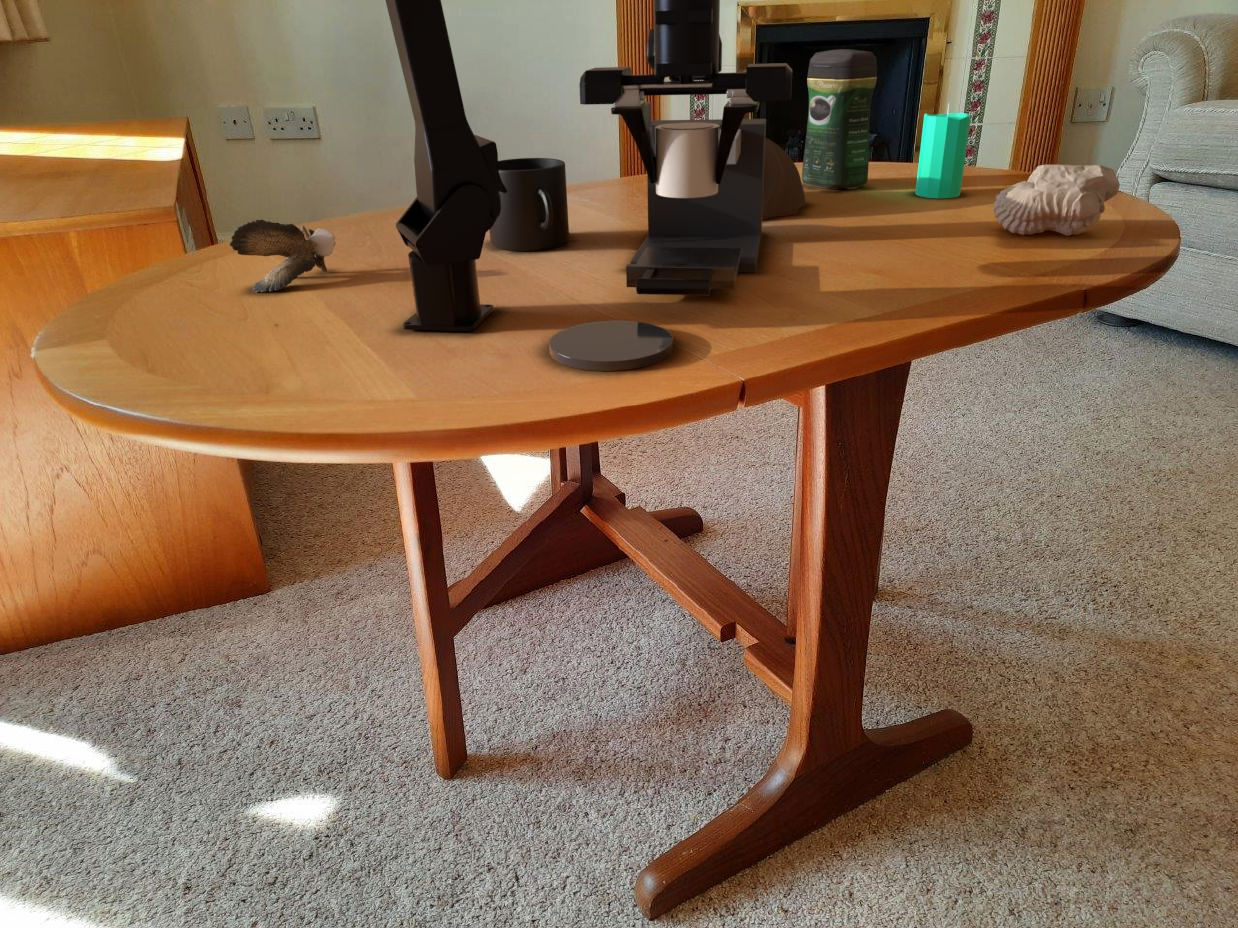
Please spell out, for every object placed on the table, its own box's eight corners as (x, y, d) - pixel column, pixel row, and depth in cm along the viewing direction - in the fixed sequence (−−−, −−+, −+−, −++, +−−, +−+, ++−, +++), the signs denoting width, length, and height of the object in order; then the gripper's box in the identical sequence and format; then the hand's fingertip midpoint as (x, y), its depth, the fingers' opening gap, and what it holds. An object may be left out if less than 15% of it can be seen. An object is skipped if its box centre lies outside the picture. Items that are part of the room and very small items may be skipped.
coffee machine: (755, 272, 91) (760, 139, 85) (630, 270, 93) (627, 140, 88) (761, 234, 106) (766, 118, 101) (654, 233, 109) (652, 120, 103)
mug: (514, 261, 99) (506, 176, 95) (480, 240, 108) (472, 162, 104) (591, 249, 102) (587, 168, 98) (551, 230, 112) (546, 155, 108)
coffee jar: (876, 187, 131) (889, 48, 123) (835, 193, 128) (846, 51, 119) (832, 178, 139) (841, 47, 130) (792, 184, 135) (799, 50, 127)
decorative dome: (820, 196, 126) (825, 121, 121) (782, 226, 110) (786, 141, 105) (692, 190, 133) (692, 119, 129) (639, 217, 117) (637, 137, 113)
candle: (915, 197, 123) (925, 105, 117) (915, 190, 128) (925, 100, 123) (960, 198, 121) (974, 104, 116) (959, 191, 126) (972, 100, 121)
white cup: (715, 198, 82) (717, 129, 79) (651, 198, 83) (650, 130, 80) (720, 187, 87) (722, 121, 85) (660, 186, 88) (659, 122, 86)
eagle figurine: (291, 255, 99) (219, 258, 92) (313, 203, 96) (239, 201, 88) (332, 300, 98) (261, 307, 90) (355, 248, 94) (283, 251, 86)
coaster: (664, 373, 67) (664, 363, 66) (535, 369, 69) (535, 359, 68) (679, 330, 76) (679, 321, 75) (565, 327, 77) (565, 318, 77)
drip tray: (729, 306, 77) (730, 282, 76) (616, 303, 78) (615, 280, 78) (741, 255, 92) (742, 234, 91) (646, 254, 94) (646, 234, 93)
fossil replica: (976, 229, 106) (1024, 255, 98) (985, 158, 101) (1036, 179, 93) (1068, 214, 107) (1124, 239, 99) (1081, 143, 103) (1140, 163, 95)
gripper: (796, -6, 82) (787, 169, 89) (599, 1, 85) (605, 170, 93) (796, -7, 73) (785, 189, 80) (574, 1, 76) (582, 189, 83)
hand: (686, 183), depth 84 cm, fingers closed on white cup, 6 cm apart
